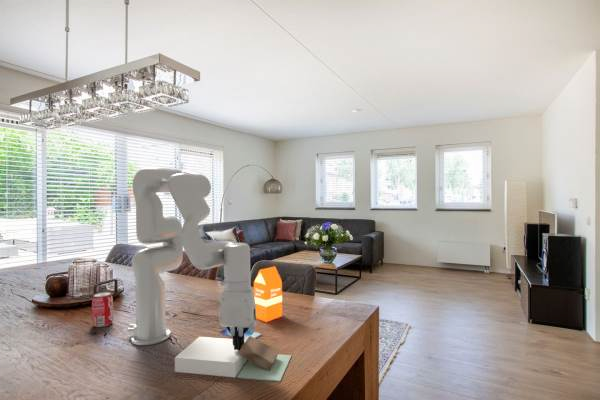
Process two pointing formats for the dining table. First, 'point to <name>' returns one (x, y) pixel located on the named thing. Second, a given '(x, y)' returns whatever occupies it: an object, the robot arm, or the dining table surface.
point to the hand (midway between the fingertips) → (238, 347)
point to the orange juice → (268, 294)
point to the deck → (210, 358)
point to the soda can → (102, 309)
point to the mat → (260, 373)
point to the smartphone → (246, 335)
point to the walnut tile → (259, 353)
